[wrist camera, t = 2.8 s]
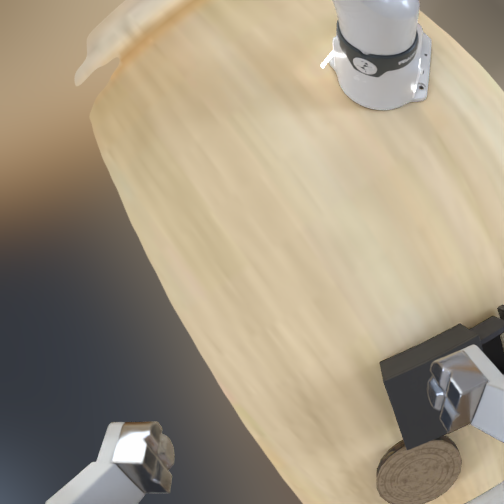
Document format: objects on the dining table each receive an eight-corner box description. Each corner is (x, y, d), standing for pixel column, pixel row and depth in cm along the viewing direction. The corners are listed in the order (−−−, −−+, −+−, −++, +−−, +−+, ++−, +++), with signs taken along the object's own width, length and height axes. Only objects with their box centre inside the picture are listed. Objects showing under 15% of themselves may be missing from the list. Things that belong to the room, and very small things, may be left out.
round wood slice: (455, 420, 41) (459, 427, 38) (459, 481, 39) (462, 490, 36) (369, 448, 46) (369, 456, 43) (382, 505, 44) (382, 514, 41)
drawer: (520, 292, 38) (541, 296, 31) (534, 351, 36) (554, 362, 29) (434, 342, 43) (445, 354, 36) (451, 400, 41) (462, 419, 34)
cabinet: (460, 323, 43) (478, 335, 34) (477, 387, 41) (495, 408, 32) (379, 362, 47) (383, 381, 38) (401, 423, 45) (406, 450, 36)
